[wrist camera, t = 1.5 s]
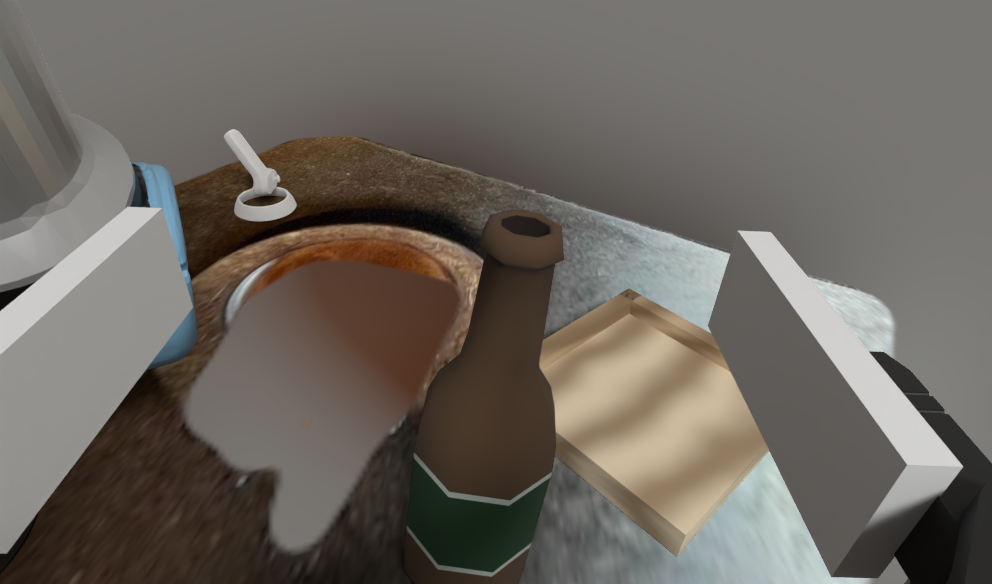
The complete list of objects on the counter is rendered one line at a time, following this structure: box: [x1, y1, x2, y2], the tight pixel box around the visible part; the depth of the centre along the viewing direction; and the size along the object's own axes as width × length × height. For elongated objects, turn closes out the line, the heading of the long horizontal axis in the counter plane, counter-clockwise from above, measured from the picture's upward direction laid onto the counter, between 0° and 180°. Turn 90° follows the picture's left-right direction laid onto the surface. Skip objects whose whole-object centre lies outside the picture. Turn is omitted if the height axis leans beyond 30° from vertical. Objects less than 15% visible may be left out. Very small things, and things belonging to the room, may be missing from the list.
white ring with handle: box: [224, 129, 296, 221], centre depth 74 cm, size 8×12×7 cm
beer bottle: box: [404, 210, 564, 584], centre depth 30 cm, size 8×8×24 cm
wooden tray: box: [539, 289, 769, 556], centre depth 47 cm, size 18×18×4 cm
